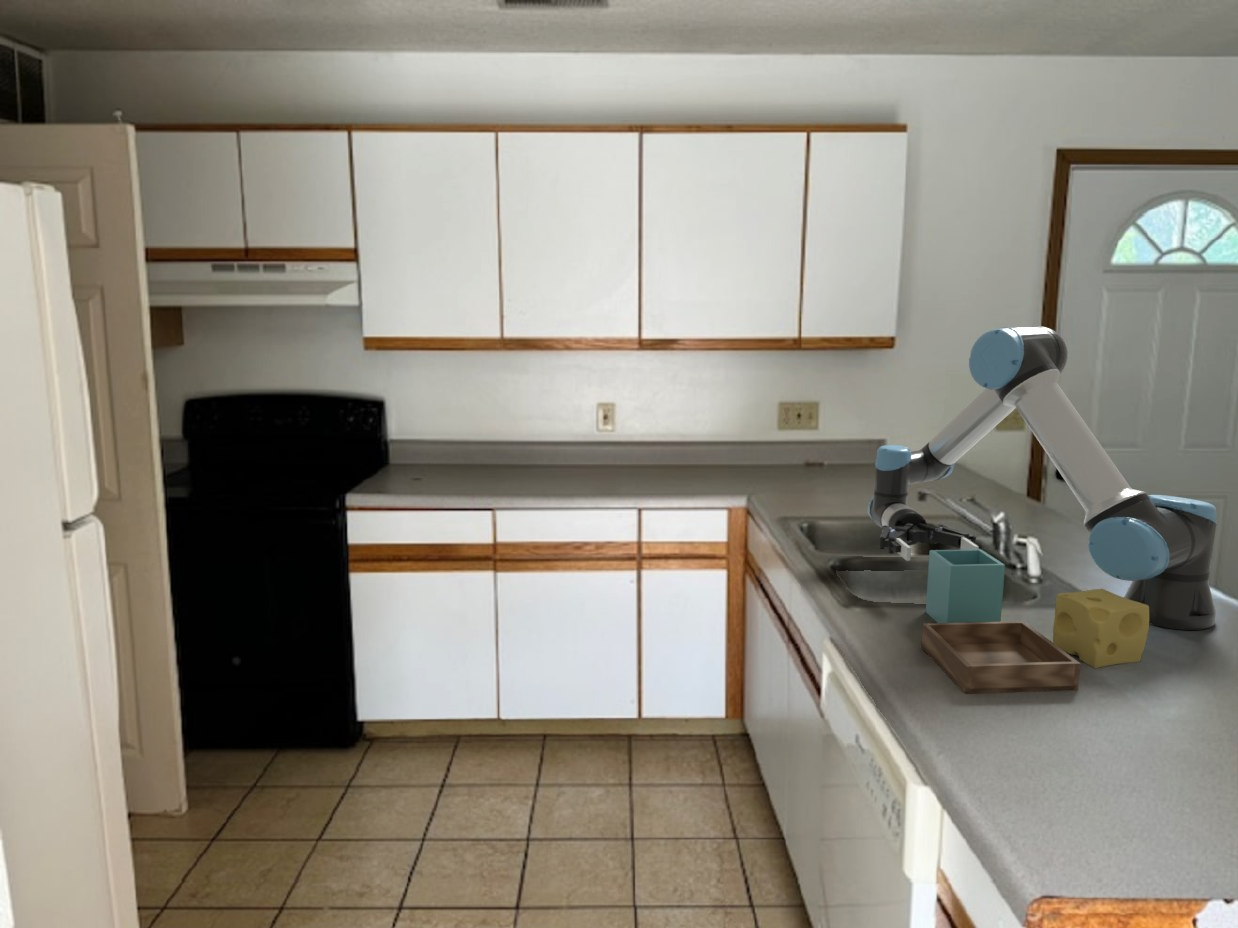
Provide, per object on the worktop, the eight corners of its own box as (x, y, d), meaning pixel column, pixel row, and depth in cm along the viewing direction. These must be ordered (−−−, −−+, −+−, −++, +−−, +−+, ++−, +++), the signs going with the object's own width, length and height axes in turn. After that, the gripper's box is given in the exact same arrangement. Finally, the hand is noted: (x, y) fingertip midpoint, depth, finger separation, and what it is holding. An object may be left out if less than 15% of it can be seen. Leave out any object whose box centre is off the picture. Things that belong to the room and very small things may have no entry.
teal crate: (976, 610, 175) (980, 549, 172) (999, 629, 165) (1005, 564, 163) (925, 611, 174) (929, 550, 172) (946, 631, 165) (950, 566, 162)
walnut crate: (1021, 645, 158) (1023, 621, 157) (1077, 690, 140) (1080, 663, 139) (921, 647, 157) (922, 623, 156) (964, 693, 140) (966, 666, 139)
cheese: (1094, 669, 148) (1100, 612, 146) (1047, 645, 158) (1052, 591, 156) (1145, 662, 151) (1152, 605, 149) (1096, 638, 161) (1101, 585, 159)
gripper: (958, 540, 200) (1002, 570, 179) (847, 541, 199) (879, 572, 178) (961, 507, 198) (1006, 534, 177) (849, 508, 197) (881, 536, 176)
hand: (942, 553), depth 178 cm, fingers open, 13 cm apart
